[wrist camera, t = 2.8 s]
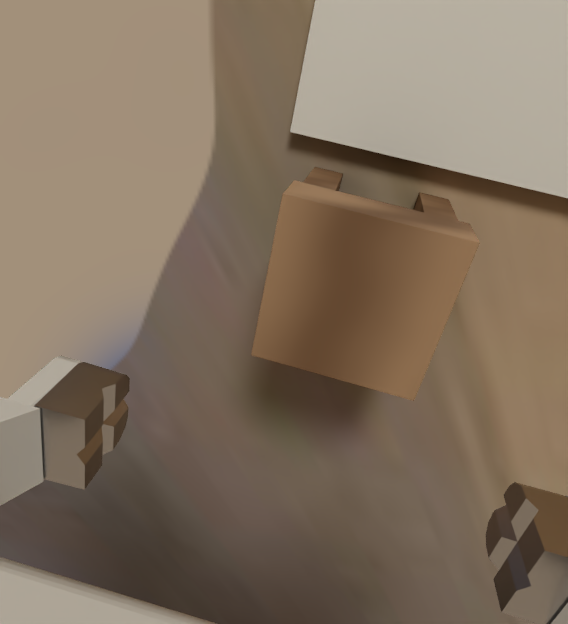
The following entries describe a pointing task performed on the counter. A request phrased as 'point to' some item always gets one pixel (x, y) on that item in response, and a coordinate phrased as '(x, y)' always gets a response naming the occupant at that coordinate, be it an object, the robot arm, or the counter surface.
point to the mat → (443, 85)
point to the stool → (361, 284)
